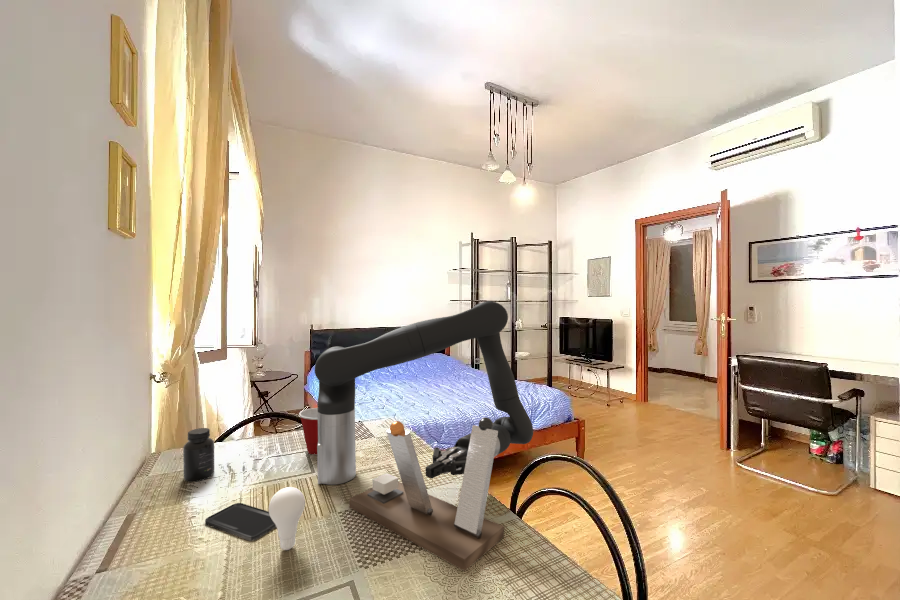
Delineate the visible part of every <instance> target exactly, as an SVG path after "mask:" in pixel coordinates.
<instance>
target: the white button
mask: <svg viewBox="0 0 900 600" xmlns="http://www.w3.org/2000/svg"><path fill="white" fill-rule="evenodd" d="M371 482H372V484H371V486H372V487H373V490H375V491H378V492H380V493H382V494H384V495H385V494H388V493H390V492H391V491H393V490H395V489H397V488H398V482H399V477H397V476H395V475H392V474H390V473H387V472H385V473H384V474H383V473H382V474H380V475H378V476H377V477H375V478H374V477H373V478H372V480H371ZM372 487H371V488H372Z"/></svg>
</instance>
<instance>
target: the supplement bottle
mask: <svg viewBox="0 0 900 600" xmlns="http://www.w3.org/2000/svg"><path fill="white" fill-rule="evenodd" d="M182 448H183V449H182V453H183V454H182V455H183V456H182V457H183V458H182V459H183V461H182V462H183V463H182V464H183V468H182V469H183V480H185V481H186V482H190V483H193V481H195V482H199V480H200V481H203V479H204V480H206V479H209V478H210V477H212V476H213V475H214V473H215V441H214V440H213V438H211V433H210V428H208V427H200V428H199V427H198V428H194V429H191V430H189V431H187V442H186V443H185V444H184V445H183V447H182ZM208 477H209V478H208Z"/></svg>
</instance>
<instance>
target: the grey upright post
mask: <svg viewBox="0 0 900 600" xmlns="http://www.w3.org/2000/svg"><path fill="white" fill-rule="evenodd" d="M493 422H494V421H493V420H492V419H491V418H489V417H488V416H487V417H482V418H481V419H480V420H479V422H478V425H474V424H473V425H472V427H471V432H470V433H471V437H470V443H469V448H468V454H467V459H466V464H465V470H464V474H462V476H463V477H462V482H461V487H460V493H459V497H458V502H457V504H458V505H457V507H458V508H457V513H456V519H455V522H454V527H456V528H458V529H460V530H462V531H465V532H467V533H469V534H471V535H473V536H475V537H477V538H480V537H481V535H482V525H483V519H484V518H485V511H486V506H487V501H488V500H487V499H488V495H489V489H490V482H491V475H492V470H493V463H494V458H495V457H494V453H495V447H496V441H497V435H498V431H496V430H492V428H493Z"/></svg>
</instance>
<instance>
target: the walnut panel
mask: <svg viewBox="0 0 900 600" xmlns="http://www.w3.org/2000/svg"><path fill="white" fill-rule="evenodd" d="M428 496H429V499H430V502H431V506H432V509H433V513H432V515H428V514H425V513H423V512H421V511H419V510H417V509H414V508H412V507H410V506H409V503H408V499H407V496H406V493H405V490H404V487H403V483H402V482H401V481H398V488H397V489H395V490H393V491H391V492H390V493H388V494H385V495H384V494H382V493H380V492H378V491H375V490H373V487H370V488H368V489H367V490H364V491H362V492H360V493H358V494H356V495H353V496H351V497H349V499H348V500H349V502H348V503H349V505H348V508H350V509H351V510H353V511H355V512H357V513H359V514H360V515H362V516H363V517H366V518H367V519H369V520H371V521H373V522H375V523H377V524H379V525H380V526H382V527H384V528H386V529H387V530H389V531H391V532H393V533H395V534H397V535H398V536H400V537H402V538H404V539H406V540H408V541H409V542H410V543H413V544H414V545H416V546H418V547H420V548H421V549H423V550H425V551H426V552H429V553H431V554H433V555H435V556H436V557H438V558H440V559H442V560H444V561H445V562H447V563H449V564H450V565H453V566H454V567H456V568H458V569H460V570H461V571H463V572H466V571H467V570H469V568H471V567H472V566H473V565H474V564H475V563H476V562H477V561H479V560H480V559H481V558H482V557H483V556H485V554H487V553H488V552H489V551H490V550H491V549H492V548H493V547H494V546H495V545H497V544H498V543H499V542H500V541H501V540H502V539H503V538H504V537H505V526H504V525H501V524H499V523H497V522H494V521H492V520H490V519H488V518H485V517H484V519H483V525H482V535H481V537H480V538H477V537H475V536H473V535H471V534H469V533H467V532H465V531H462V530H460V529H458V528H456V527H454V522H455V519H456V513H457V508H458V505H457V506H456V505H454V504H452V503H449V502H447V501H445V500H442V499H440V498H437V497H436V496H433V495H431V494H429V493H428Z"/></svg>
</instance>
